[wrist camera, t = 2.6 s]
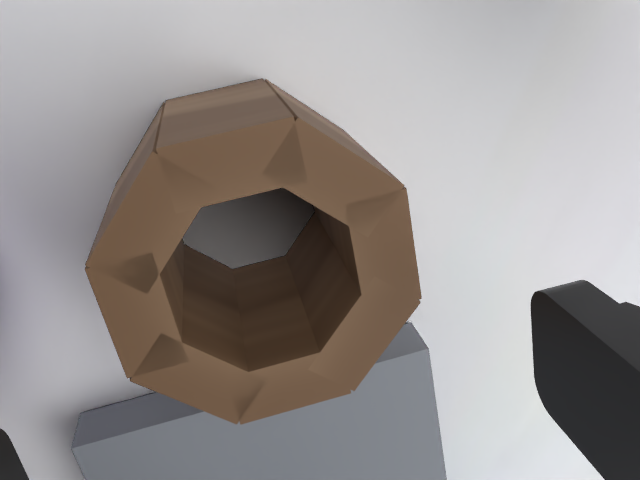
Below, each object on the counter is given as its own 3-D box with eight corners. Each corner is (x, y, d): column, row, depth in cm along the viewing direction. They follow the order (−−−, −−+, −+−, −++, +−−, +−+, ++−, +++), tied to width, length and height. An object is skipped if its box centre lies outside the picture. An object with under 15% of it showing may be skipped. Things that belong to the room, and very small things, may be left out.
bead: (91, 116, 15) (47, 173, 10) (332, 63, 15) (392, 93, 11) (163, 327, 17) (154, 449, 13) (369, 273, 18) (431, 370, 13)
